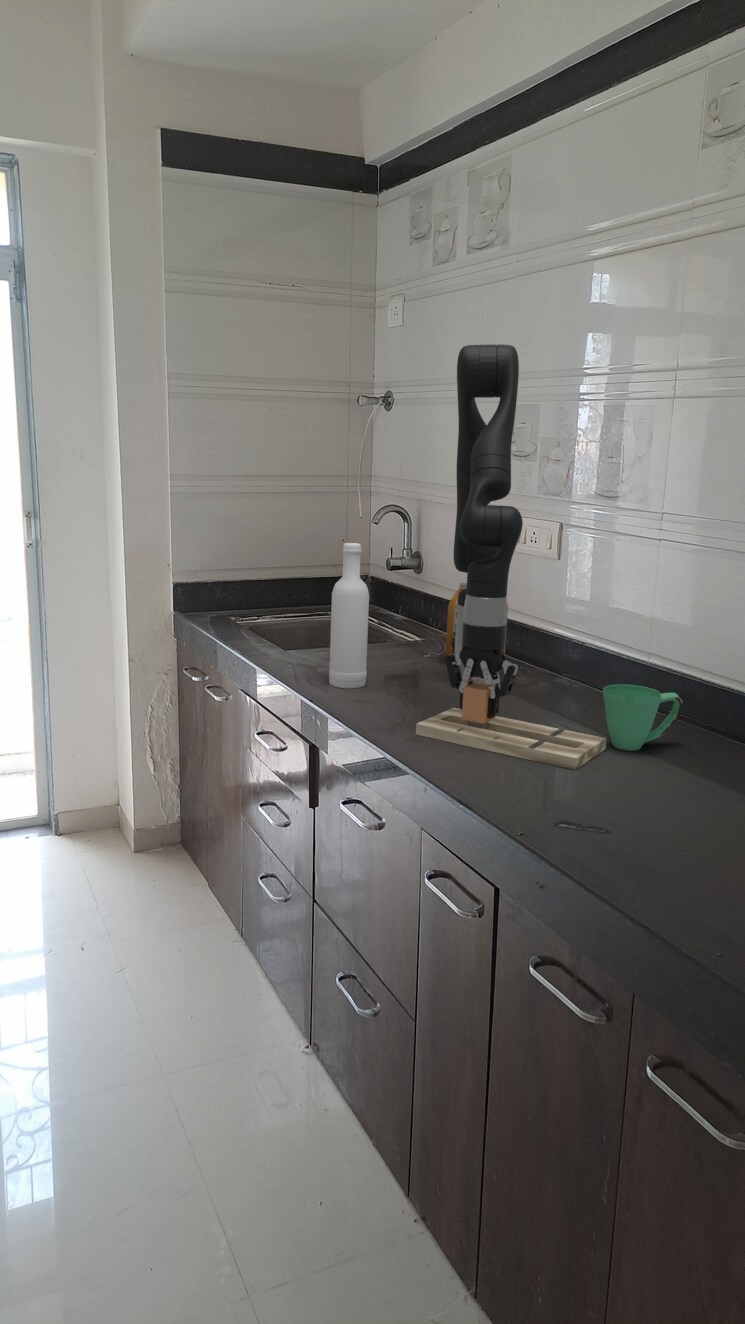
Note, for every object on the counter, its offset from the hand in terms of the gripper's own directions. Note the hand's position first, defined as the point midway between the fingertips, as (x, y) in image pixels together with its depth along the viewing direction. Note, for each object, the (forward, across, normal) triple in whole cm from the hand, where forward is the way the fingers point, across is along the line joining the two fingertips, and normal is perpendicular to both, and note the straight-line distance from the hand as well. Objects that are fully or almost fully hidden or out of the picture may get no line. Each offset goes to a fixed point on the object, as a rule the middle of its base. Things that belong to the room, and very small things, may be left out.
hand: (478, 714), depth 170 cm
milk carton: (+4, +28, -53) cm, 60 cm away
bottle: (+4, +39, -15) cm, 42 cm away
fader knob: (+4, 0, 0) cm, 4 cm away
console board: (+4, -6, 0) cm, 7 cm away
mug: (+4, -25, -13) cm, 29 cm away
